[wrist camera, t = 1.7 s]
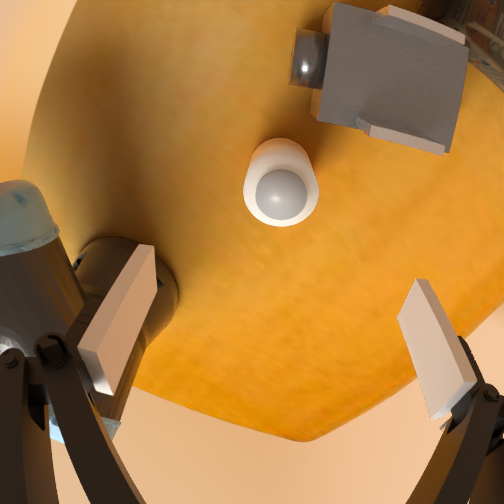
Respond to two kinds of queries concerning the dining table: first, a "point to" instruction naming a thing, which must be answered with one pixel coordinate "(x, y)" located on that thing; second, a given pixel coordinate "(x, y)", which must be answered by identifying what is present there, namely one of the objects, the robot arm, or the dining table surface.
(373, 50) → the motor
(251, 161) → the white cylindrical container
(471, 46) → the beverage carton
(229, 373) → the dining table surface
